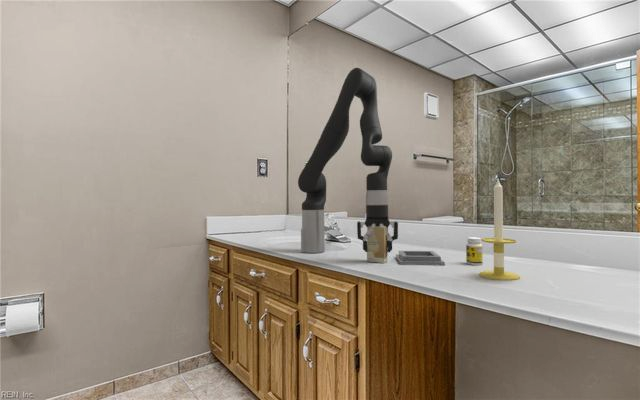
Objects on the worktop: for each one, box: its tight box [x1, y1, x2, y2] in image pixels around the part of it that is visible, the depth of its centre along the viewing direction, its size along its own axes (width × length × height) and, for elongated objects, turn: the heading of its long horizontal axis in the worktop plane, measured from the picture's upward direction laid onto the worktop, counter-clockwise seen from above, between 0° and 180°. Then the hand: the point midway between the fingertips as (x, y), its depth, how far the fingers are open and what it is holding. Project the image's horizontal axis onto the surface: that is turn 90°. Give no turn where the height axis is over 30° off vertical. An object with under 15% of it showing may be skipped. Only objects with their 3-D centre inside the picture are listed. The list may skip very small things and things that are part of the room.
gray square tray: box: [395, 250, 446, 266], centre depth 115 cm, size 14×14×2 cm
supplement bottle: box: [465, 236, 483, 266], centre depth 109 cm, size 5×5×8 cm
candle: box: [478, 179, 521, 281], centre depth 92 cm, size 10×10×27 cm
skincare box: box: [366, 226, 389, 264], centre depth 115 cm, size 6×4×12 cm
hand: (377, 251), depth 115 cm, fingers closed on skincare box, 7 cm apart
